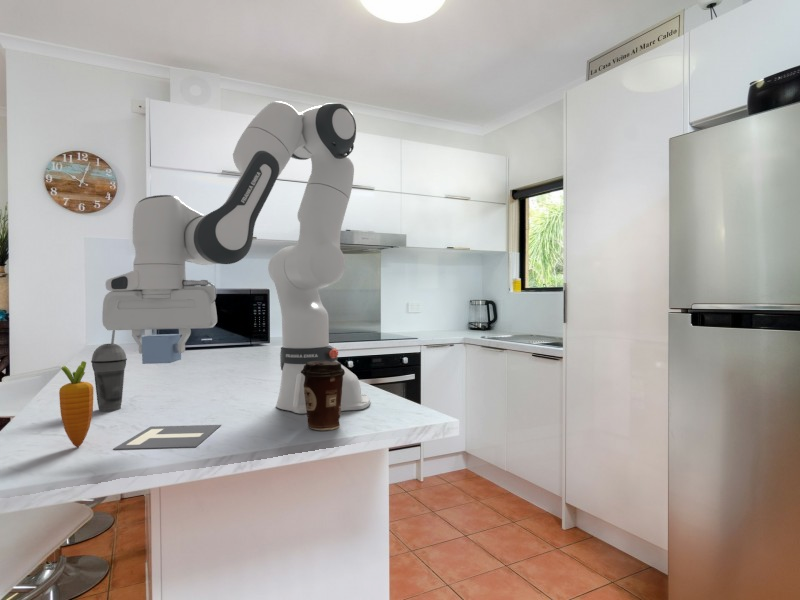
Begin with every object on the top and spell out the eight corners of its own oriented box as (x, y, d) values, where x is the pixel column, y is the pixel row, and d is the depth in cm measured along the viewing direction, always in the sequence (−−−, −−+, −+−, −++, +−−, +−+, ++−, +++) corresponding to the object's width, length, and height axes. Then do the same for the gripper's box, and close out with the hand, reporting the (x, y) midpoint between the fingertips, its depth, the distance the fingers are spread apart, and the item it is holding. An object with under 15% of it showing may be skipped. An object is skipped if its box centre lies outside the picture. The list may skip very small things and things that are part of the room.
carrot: (61, 453, 80) (59, 364, 80) (60, 446, 83) (58, 362, 83) (96, 447, 83) (94, 362, 83) (93, 441, 87) (91, 359, 86)
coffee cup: (302, 434, 89) (302, 366, 89) (299, 423, 97) (298, 360, 97) (348, 430, 92) (347, 364, 92) (341, 419, 100) (340, 358, 100)
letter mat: (221, 425, 96) (221, 424, 96) (196, 447, 82) (196, 446, 82) (150, 427, 95) (150, 426, 95) (113, 449, 81) (113, 448, 81)
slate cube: (181, 359, 93) (180, 334, 93) (169, 363, 88) (169, 336, 88) (155, 360, 92) (154, 334, 92) (142, 363, 87) (141, 337, 87)
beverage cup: (94, 407, 113) (93, 324, 113) (129, 404, 116) (128, 323, 116) (88, 414, 106) (87, 326, 106) (126, 410, 109) (124, 325, 109)
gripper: (221, 280, 93) (222, 349, 94) (115, 282, 92) (117, 352, 93) (209, 279, 87) (211, 353, 87) (96, 281, 86) (98, 356, 86)
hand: (162, 353), depth 90 cm, fingers closed on slate cube, 5 cm apart
